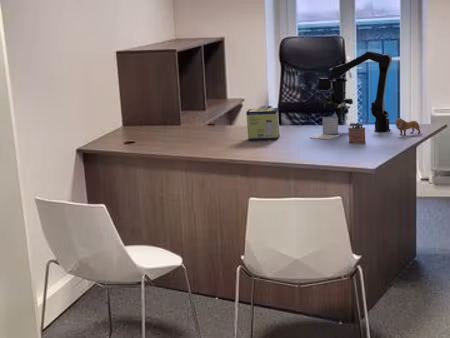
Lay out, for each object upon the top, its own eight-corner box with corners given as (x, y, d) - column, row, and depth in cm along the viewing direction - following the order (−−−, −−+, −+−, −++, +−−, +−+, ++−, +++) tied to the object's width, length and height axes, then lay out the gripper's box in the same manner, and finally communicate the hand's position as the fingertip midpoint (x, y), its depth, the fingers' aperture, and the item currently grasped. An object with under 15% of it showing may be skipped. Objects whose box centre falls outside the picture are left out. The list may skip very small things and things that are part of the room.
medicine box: (337, 133, 377) (337, 116, 375) (338, 134, 372) (338, 117, 371) (322, 133, 377) (322, 116, 376) (322, 134, 373) (322, 117, 372)
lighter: (366, 142, 347) (365, 122, 344) (365, 144, 343) (364, 123, 341) (349, 142, 349) (348, 122, 347) (348, 144, 346) (347, 123, 344)
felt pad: (339, 136, 367) (339, 135, 367) (329, 139, 360) (329, 138, 360) (320, 134, 375) (320, 133, 375) (309, 138, 368) (309, 137, 368)
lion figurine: (399, 137, 353) (399, 119, 351) (393, 135, 358) (392, 118, 356) (423, 133, 359) (423, 115, 357) (417, 132, 364) (416, 114, 362)
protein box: (251, 137, 382) (249, 108, 379) (280, 136, 379) (278, 107, 375) (247, 141, 372) (245, 111, 369) (277, 140, 369) (275, 110, 366)
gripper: (335, 87, 389) (336, 116, 392) (315, 92, 375) (316, 121, 379) (352, 88, 381) (353, 117, 385) (333, 92, 368) (334, 122, 371)
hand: (339, 119), depth 380 cm, fingers closed
